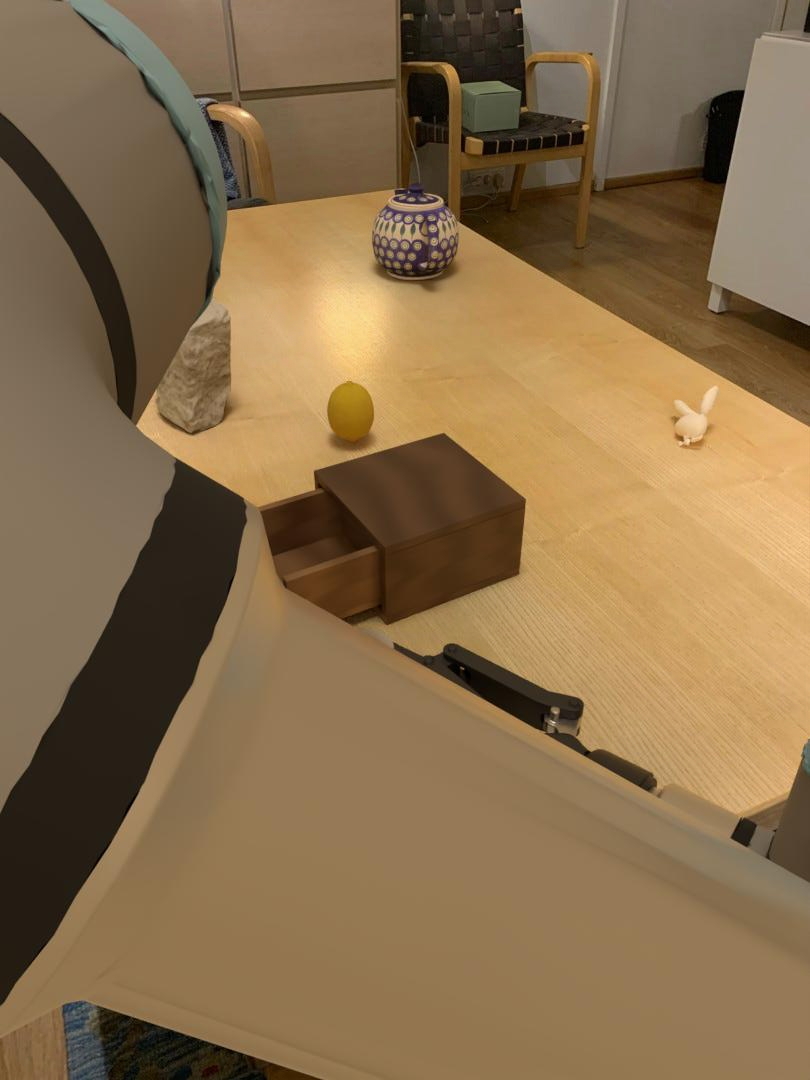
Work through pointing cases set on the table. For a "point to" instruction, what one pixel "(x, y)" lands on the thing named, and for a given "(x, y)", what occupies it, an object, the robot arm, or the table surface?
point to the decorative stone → (199, 373)
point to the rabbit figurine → (694, 417)
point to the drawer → (323, 553)
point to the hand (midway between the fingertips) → (303, 667)
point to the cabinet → (430, 521)
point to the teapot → (415, 235)
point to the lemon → (350, 411)
